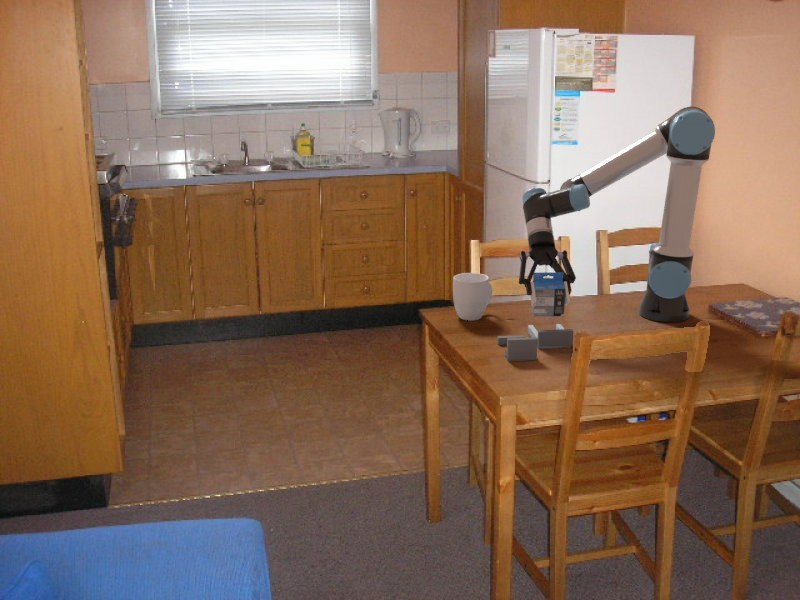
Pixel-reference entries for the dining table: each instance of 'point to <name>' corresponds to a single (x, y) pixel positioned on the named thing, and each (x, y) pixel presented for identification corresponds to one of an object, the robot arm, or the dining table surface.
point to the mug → (471, 295)
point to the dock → (552, 337)
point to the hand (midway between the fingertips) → (551, 304)
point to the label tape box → (549, 294)
